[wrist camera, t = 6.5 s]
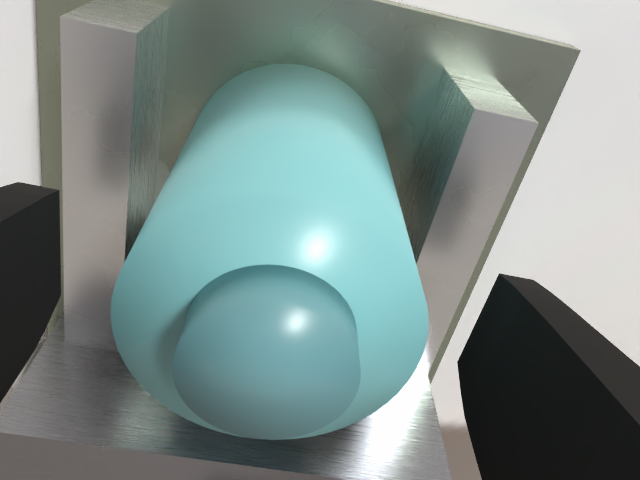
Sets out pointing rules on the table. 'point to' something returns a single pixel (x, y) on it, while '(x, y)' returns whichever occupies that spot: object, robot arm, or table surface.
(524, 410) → the robot arm
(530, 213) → the table surface
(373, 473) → the motor
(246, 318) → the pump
